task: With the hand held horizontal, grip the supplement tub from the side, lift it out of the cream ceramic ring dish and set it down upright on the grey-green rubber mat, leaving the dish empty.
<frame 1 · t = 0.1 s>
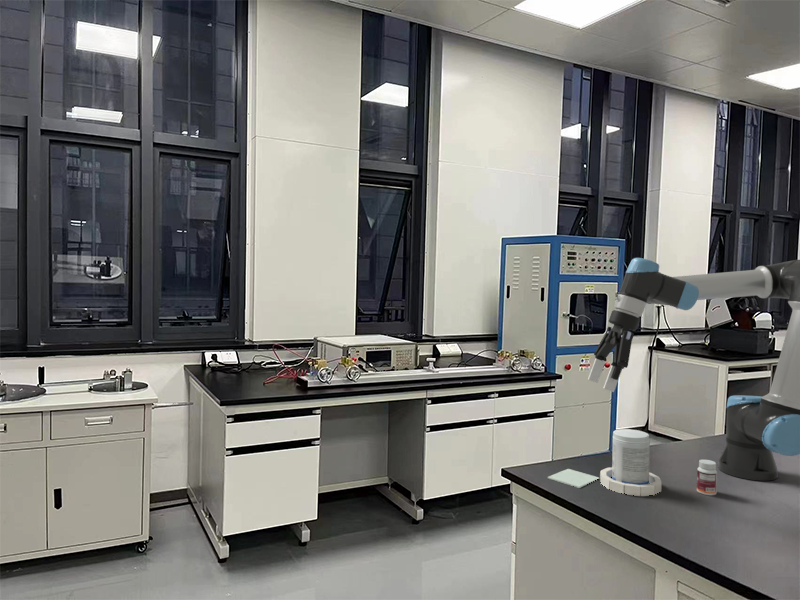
hand: (600, 385, 156), 28 cm above the lab bench, tool tilted 20°, fingers open, 13 cm apart
rubber mat: (573, 478, 161), on the lab bench
ring dish: (629, 485, 157), on the lab bench
pill bottle: (706, 493, 152), on the lab bench
supplement tub: (629, 486, 157), resting in ring dish
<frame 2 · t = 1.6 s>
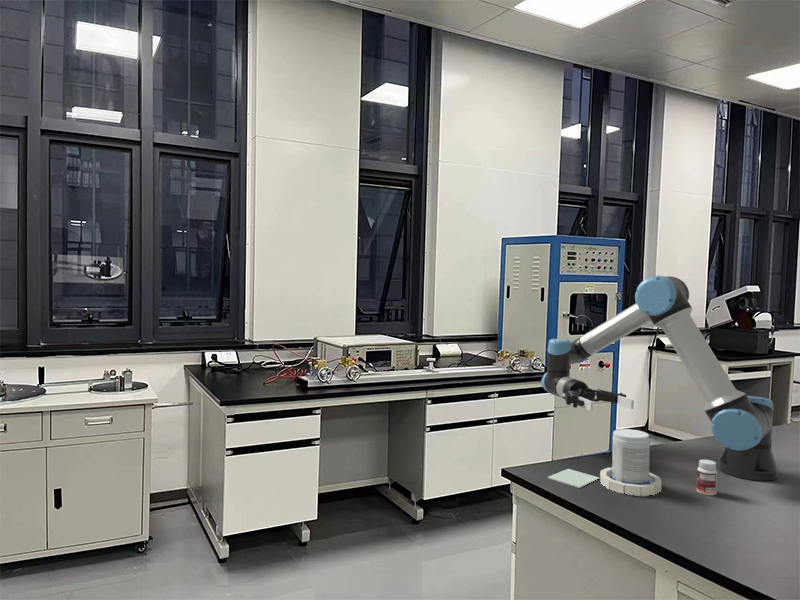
hand: (612, 405, 165), 20 cm above the lab bench, tool horizontal, fingers open, 13 cm apart
nothing on the lab bench moved.
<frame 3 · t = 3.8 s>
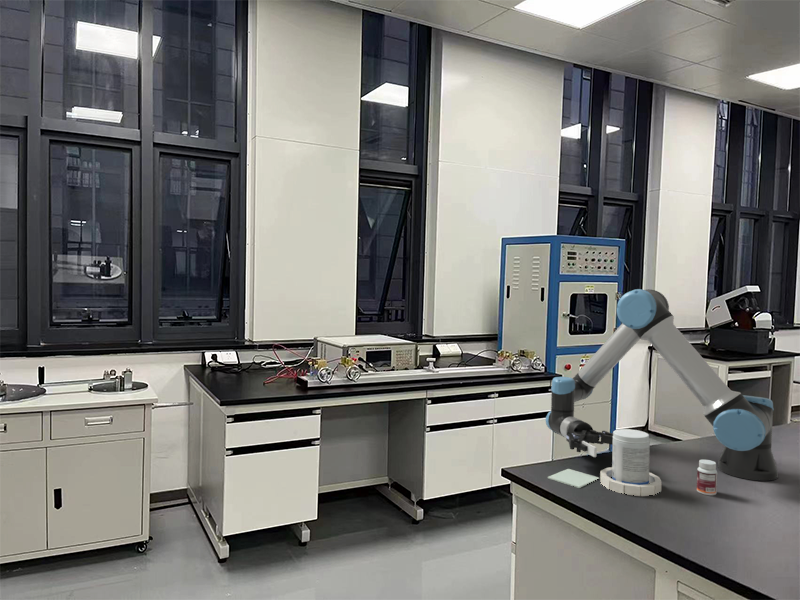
hand: (616, 451, 162), 8 cm above the lab bench, tool horizontal, fingers open, 13 cm apart
nothing on the lab bench moved.
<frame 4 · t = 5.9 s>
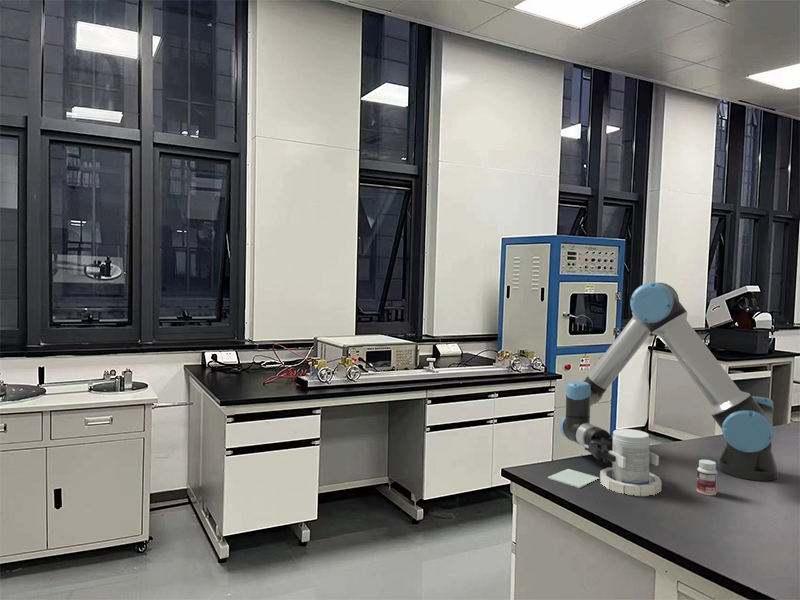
hand: (641, 461, 152), 8 cm above the lab bench, tool horizontal, fingers closed on supplement tub, 9 cm apart
supplement tub: (629, 486, 157), resting in ring dish, touching gripper
everything else where it was.
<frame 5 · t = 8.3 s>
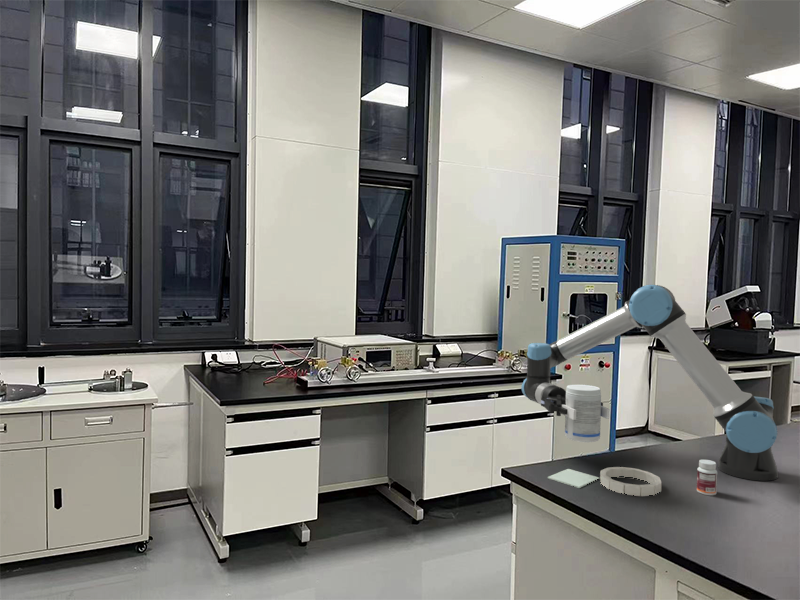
hand: (591, 414, 156), 20 cm above the lab bench, tool horizontal, fingers closed on supplement tub, 9 cm apart
supplement tub: (581, 439, 160), point 12 cm above the lab bench, touching gripper
everything else where it was.
when the fingers open (10 cm above the lab bench, at t = 10.8 s): supplement tub drops 1 cm, resting on rubber mat.
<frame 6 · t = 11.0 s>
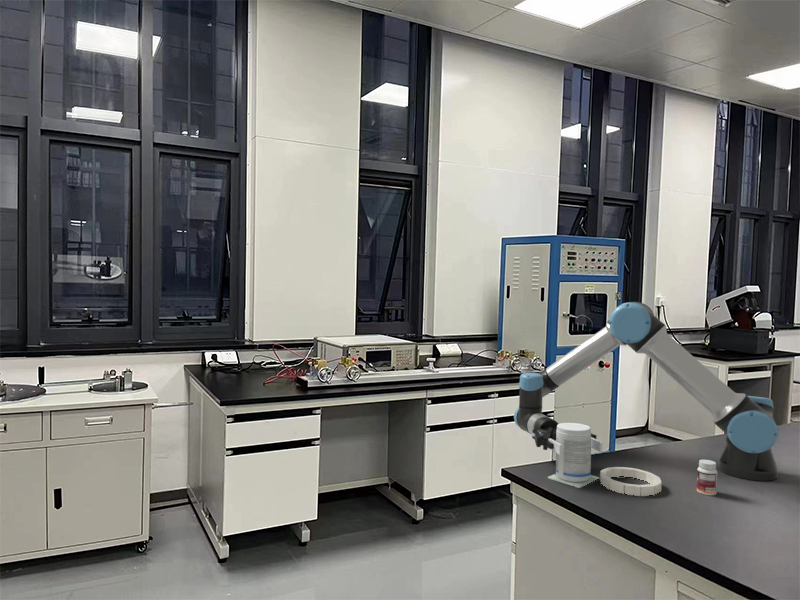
hand: (581, 448, 157), 10 cm above the lab bench, tool horizontal, fingers open, 12 cm apart
supplement tub: (572, 477, 161), resting on rubber mat
everything else where it was.
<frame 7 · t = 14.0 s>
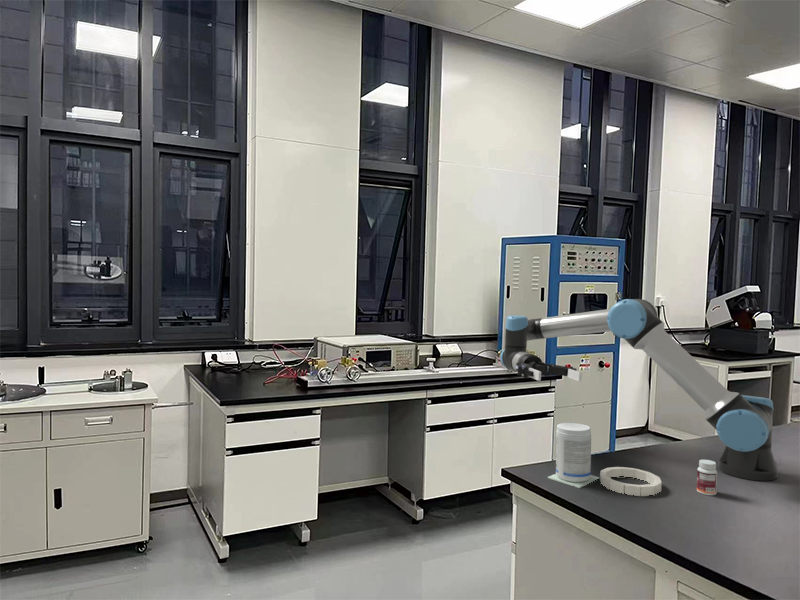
hand: (560, 376, 170), 28 cm above the lab bench, tool horizontal, fingers open, 13 cm apart
nothing on the lab bench moved.
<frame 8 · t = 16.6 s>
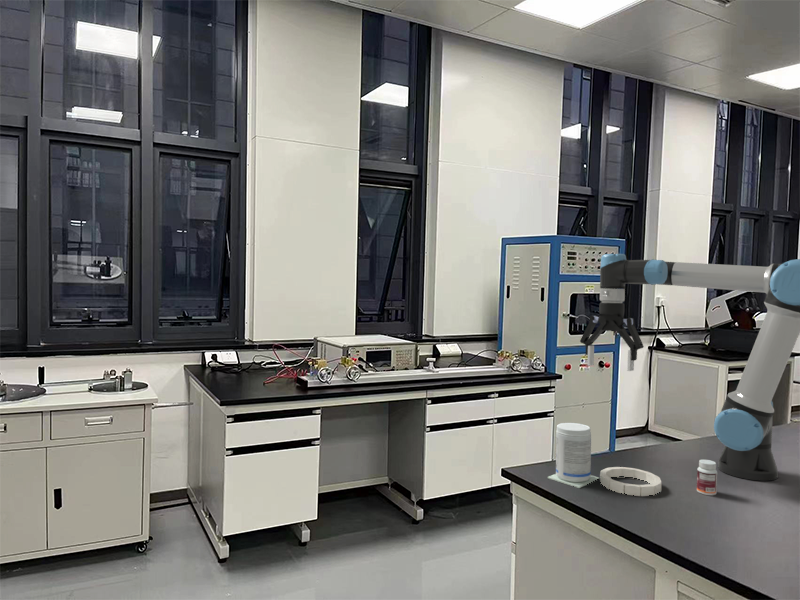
hand: (610, 368, 182), 29 cm above the lab bench, tool pointing down, fingers open, 13 cm apart
nothing on the lab bench moved.
at the end: supplement tub inside the target area on the rubber mat (0.2 cm from its centre), point 0.2 cm above the rubber mat's base; supplement tub tilted 0°; supplement tub touching rubber mat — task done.
